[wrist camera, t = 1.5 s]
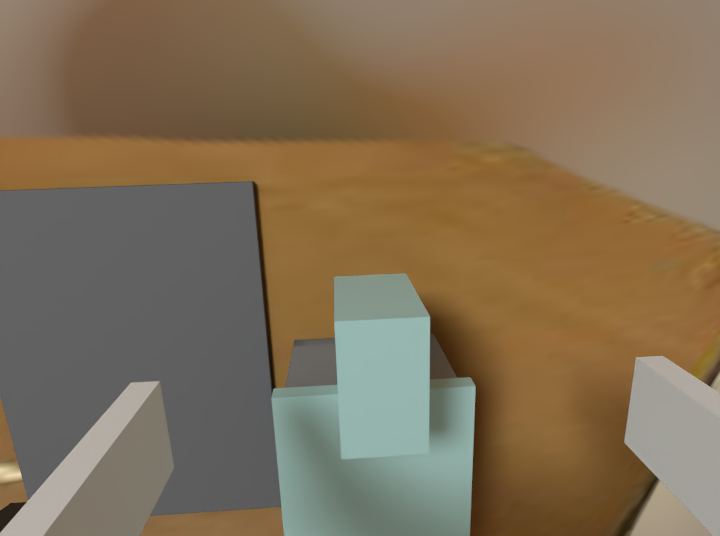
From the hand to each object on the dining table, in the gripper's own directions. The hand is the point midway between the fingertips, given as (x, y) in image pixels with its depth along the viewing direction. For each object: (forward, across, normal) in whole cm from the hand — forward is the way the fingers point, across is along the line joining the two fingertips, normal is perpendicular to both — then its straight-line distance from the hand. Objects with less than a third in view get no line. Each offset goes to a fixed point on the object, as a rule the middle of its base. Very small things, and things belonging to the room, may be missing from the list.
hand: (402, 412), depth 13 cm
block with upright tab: (+9, 0, -7) cm, 11 cm away
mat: (+13, -14, -4) cm, 19 cm away
